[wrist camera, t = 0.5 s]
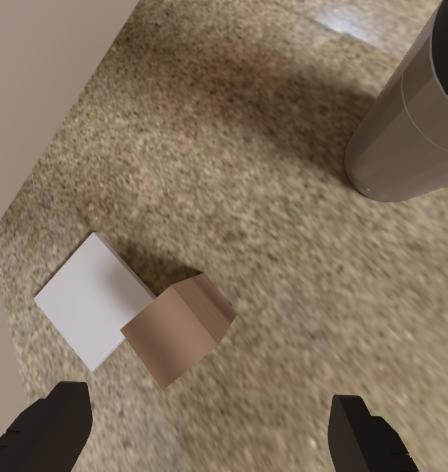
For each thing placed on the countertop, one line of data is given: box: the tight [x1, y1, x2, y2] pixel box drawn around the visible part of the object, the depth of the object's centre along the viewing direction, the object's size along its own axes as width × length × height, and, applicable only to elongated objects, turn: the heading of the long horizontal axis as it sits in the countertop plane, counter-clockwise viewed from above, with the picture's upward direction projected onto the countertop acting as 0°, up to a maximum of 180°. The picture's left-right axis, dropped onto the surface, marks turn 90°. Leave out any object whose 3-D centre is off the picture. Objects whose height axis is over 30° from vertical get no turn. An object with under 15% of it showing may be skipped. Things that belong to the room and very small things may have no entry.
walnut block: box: [120, 273, 237, 390], centre depth 27 cm, size 6×6×10 cm
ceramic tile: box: [33, 232, 157, 372], centre depth 34 cm, size 12×12×1 cm
